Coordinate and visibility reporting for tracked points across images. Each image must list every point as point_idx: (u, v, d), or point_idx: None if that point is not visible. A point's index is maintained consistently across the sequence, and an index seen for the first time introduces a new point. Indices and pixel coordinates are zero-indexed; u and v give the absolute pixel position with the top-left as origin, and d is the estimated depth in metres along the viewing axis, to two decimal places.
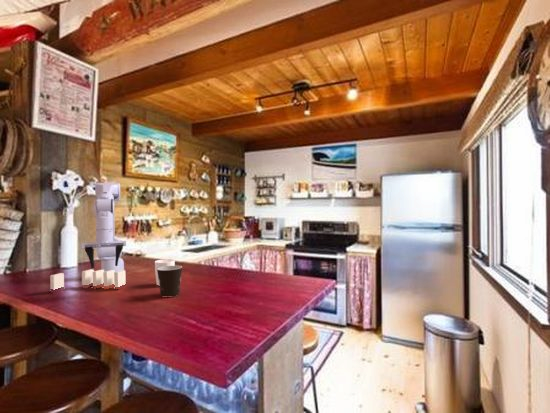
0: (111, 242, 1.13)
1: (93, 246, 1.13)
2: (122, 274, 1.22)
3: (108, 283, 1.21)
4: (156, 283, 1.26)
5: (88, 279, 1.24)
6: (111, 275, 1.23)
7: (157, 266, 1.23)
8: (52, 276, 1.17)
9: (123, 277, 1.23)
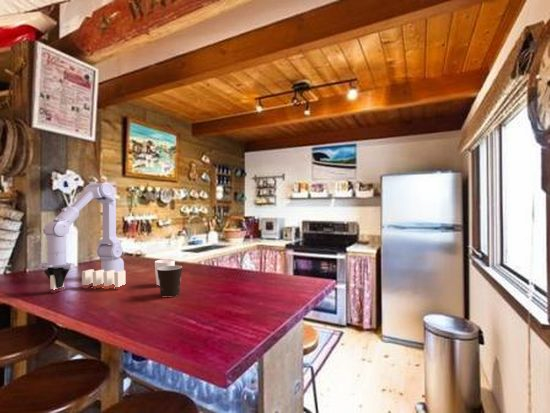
0: (56, 266, 1.16)
1: (48, 267, 1.19)
2: (122, 274, 1.22)
3: (108, 283, 1.21)
4: (156, 283, 1.26)
5: (88, 279, 1.24)
6: (111, 275, 1.23)
7: (157, 266, 1.23)
8: (52, 276, 1.16)
9: (123, 277, 1.23)
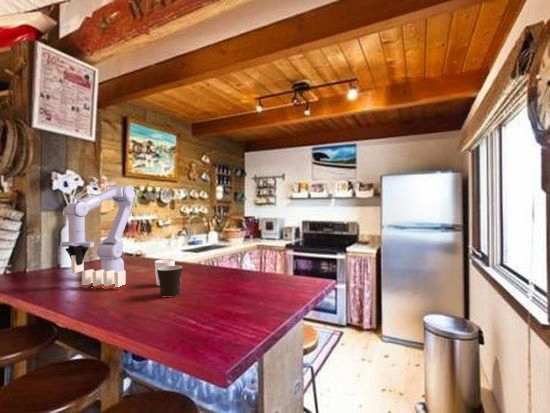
0: (77, 243, 1.23)
1: (69, 245, 1.27)
2: (122, 274, 1.22)
3: (108, 283, 1.21)
4: (156, 283, 1.26)
5: (88, 279, 1.24)
6: (111, 275, 1.23)
7: (157, 266, 1.23)
8: (73, 256, 1.24)
9: (123, 277, 1.23)
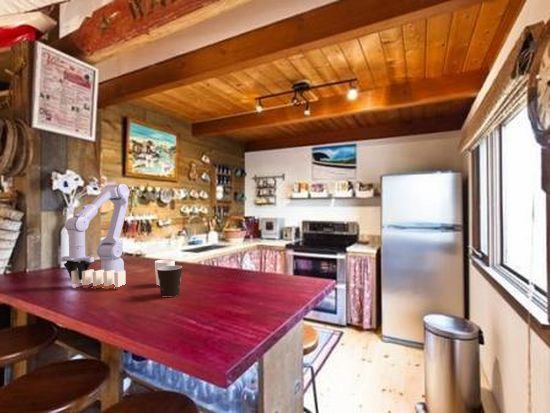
0: (77, 259, 1.23)
1: (69, 260, 1.27)
2: (122, 274, 1.22)
3: (108, 283, 1.21)
4: (156, 283, 1.26)
5: (88, 279, 1.24)
6: (111, 275, 1.23)
7: (157, 266, 1.23)
8: (73, 272, 1.24)
9: (123, 277, 1.23)
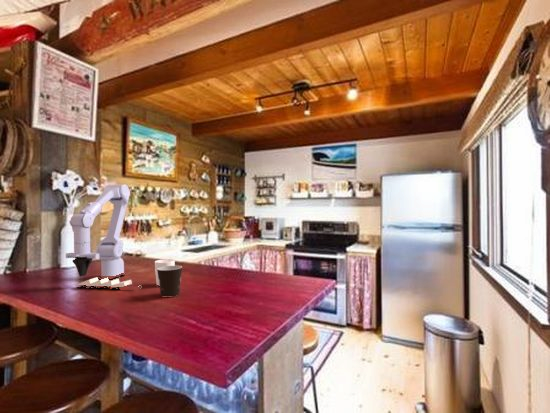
0: (82, 255, 1.23)
1: (74, 256, 1.26)
2: None
3: None
4: (156, 283, 1.26)
5: None
6: None
7: (157, 266, 1.23)
8: (88, 282, 1.22)
9: None
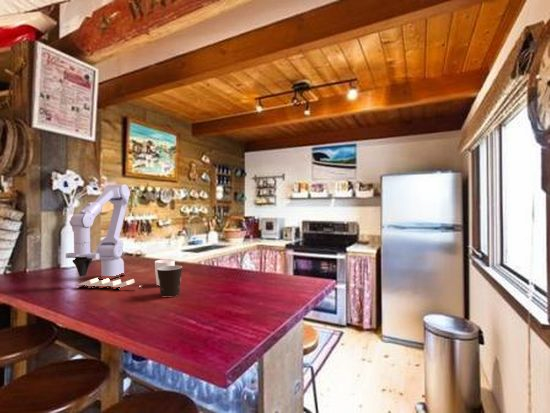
0: (82, 255, 1.23)
1: (74, 256, 1.26)
2: None
3: None
4: (156, 283, 1.26)
5: None
6: None
7: (157, 266, 1.23)
8: (89, 282, 1.22)
9: None
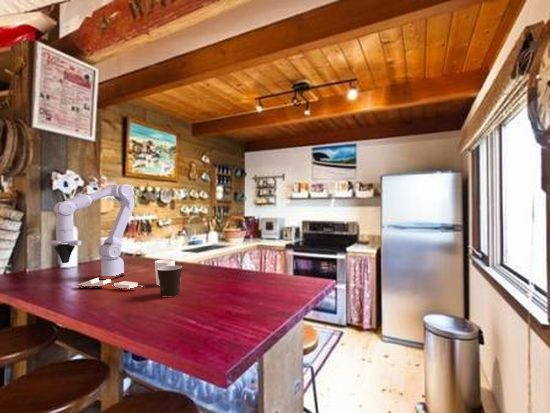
0: (64, 242, 1.25)
1: (57, 244, 1.28)
2: None
3: None
4: (156, 283, 1.26)
5: None
6: None
7: (157, 266, 1.23)
8: (89, 282, 1.22)
9: None
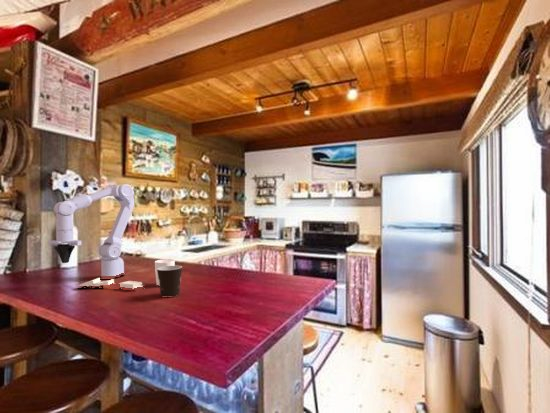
0: (64, 242, 1.25)
1: (57, 244, 1.28)
2: None
3: None
4: (156, 283, 1.26)
5: None
6: None
7: (157, 266, 1.23)
8: (92, 282, 1.22)
9: None
